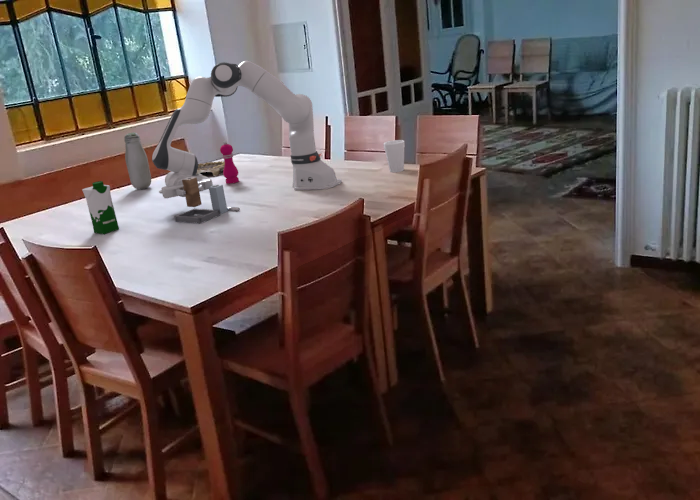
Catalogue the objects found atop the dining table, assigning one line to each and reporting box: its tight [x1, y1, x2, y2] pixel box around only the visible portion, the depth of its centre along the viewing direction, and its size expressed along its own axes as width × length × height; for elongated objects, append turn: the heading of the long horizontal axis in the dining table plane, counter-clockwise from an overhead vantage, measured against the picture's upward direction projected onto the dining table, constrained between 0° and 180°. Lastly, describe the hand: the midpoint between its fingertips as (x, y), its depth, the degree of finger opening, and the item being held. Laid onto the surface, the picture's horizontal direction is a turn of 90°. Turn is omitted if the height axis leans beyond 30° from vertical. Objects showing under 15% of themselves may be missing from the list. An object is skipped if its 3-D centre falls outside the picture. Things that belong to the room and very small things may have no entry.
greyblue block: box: [208, 184, 229, 215], centre depth 278 cm, size 4×4×11 cm
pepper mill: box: [219, 140, 240, 185], centre depth 329 cm, size 7×7×20 cm
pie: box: [197, 160, 225, 177], centre depth 362 cm, size 28×27×5 cm
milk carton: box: [81, 180, 120, 235], centre depth 271 cm, size 9×9×20 cm
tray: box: [174, 207, 221, 224], centre depth 274 cm, size 14×11×2 cm
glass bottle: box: [123, 132, 152, 190], centre depth 340 cm, size 10×10×28 cm
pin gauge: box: [227, 206, 241, 212], centre depth 281 cm, size 10×2×2 cm
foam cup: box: [383, 139, 406, 173], centre depth 309 cm, size 10×9×13 cm
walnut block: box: [182, 177, 202, 208], centre depth 271 cm, size 4×4×11 cm
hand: (192, 191), depth 271 cm, fingers closed on walnut block, 5 cm apart
